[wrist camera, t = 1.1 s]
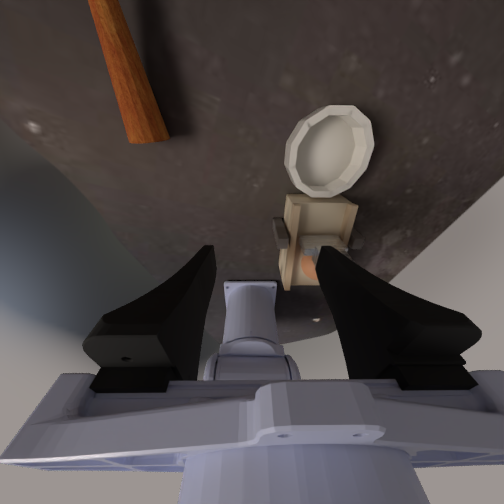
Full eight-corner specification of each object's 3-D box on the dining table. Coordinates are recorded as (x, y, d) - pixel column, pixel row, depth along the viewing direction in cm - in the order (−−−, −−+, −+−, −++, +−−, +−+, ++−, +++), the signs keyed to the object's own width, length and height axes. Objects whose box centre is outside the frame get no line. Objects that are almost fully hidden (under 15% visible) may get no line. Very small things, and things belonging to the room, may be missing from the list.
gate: (334, 245, 20) (356, 275, 16) (297, 245, 20) (310, 275, 16) (338, 231, 19) (363, 260, 15) (299, 231, 19) (313, 260, 15)
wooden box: (329, 264, 26) (345, 291, 22) (269, 264, 26) (273, 291, 22) (351, 192, 21) (379, 210, 16) (275, 192, 20) (282, 209, 16)
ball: (324, 269, 22) (337, 287, 18) (296, 269, 21) (303, 287, 18) (330, 242, 20) (345, 257, 17) (299, 242, 20) (308, 257, 17)
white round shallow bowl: (346, 190, 20) (357, 197, 18) (281, 190, 20) (285, 197, 18) (370, 108, 16) (387, 106, 14) (289, 107, 16) (295, 104, 14)
